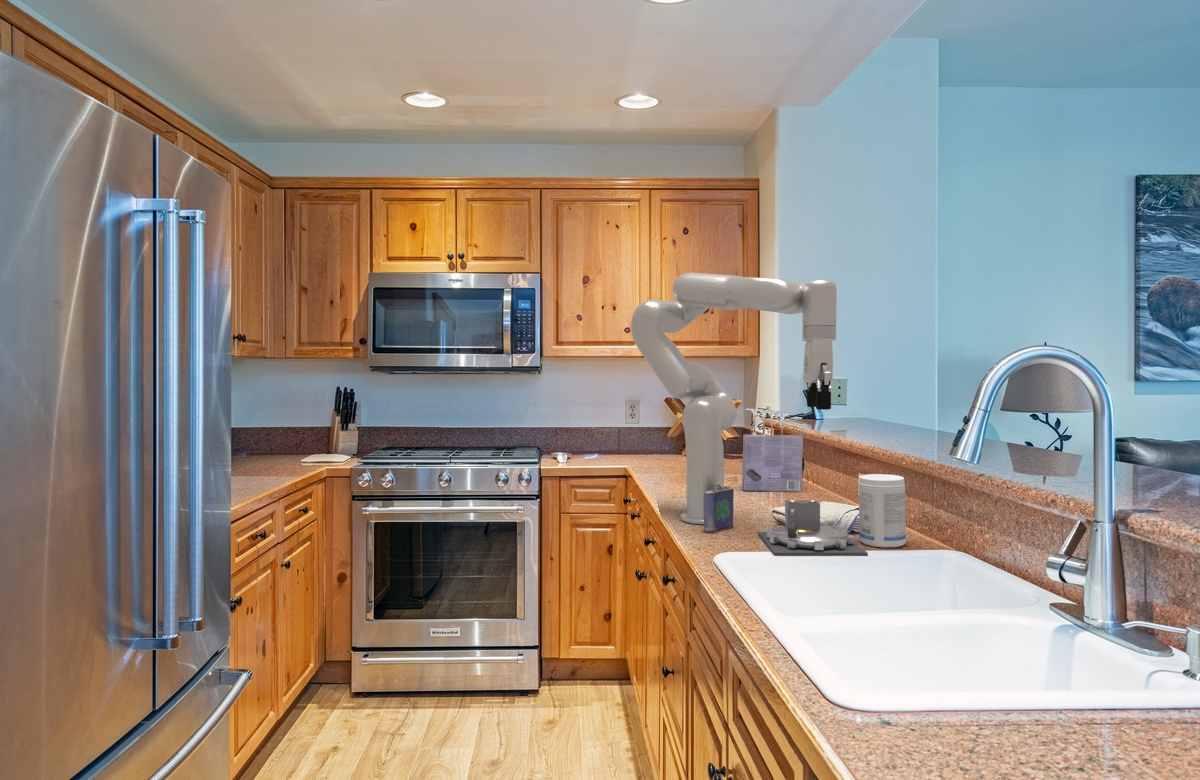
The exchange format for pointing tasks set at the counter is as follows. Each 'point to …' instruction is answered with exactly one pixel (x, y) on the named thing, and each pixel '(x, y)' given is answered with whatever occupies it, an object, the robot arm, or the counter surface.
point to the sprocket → (809, 535)
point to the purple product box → (772, 463)
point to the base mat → (811, 549)
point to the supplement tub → (882, 510)
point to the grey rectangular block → (804, 514)
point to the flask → (718, 508)
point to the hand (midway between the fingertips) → (818, 408)
